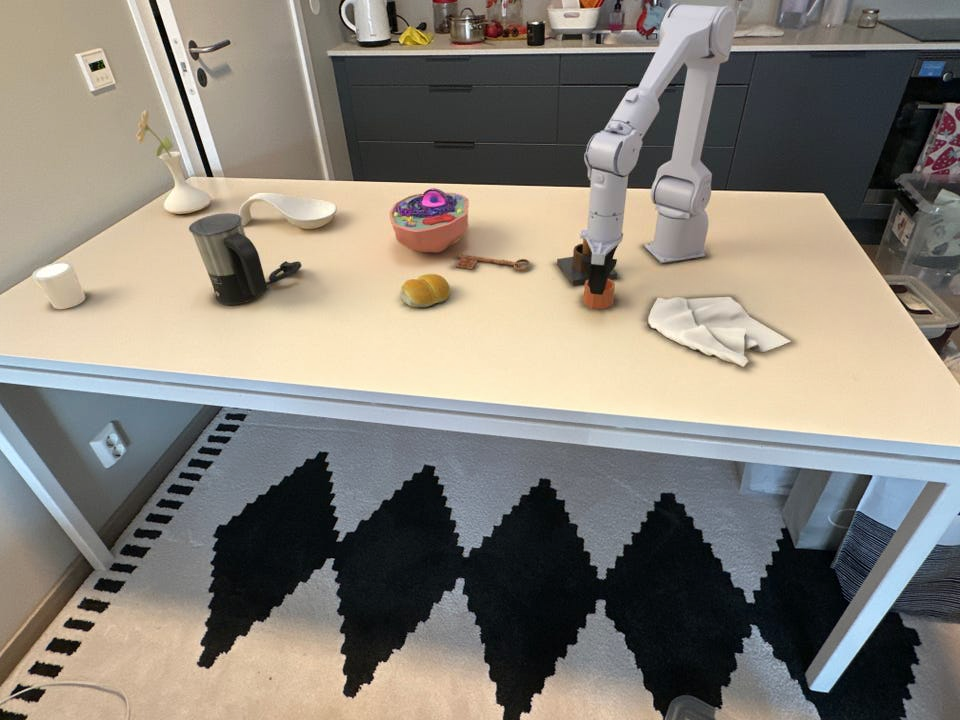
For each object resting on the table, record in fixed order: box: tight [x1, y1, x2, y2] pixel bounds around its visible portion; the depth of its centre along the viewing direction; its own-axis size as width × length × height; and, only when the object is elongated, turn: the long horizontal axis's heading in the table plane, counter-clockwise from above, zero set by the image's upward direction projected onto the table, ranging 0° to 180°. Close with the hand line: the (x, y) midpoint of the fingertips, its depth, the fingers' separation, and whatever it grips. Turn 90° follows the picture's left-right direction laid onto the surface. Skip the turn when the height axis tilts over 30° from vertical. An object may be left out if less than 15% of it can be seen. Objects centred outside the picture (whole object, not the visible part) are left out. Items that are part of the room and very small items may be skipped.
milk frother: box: [188, 212, 303, 306], centre depth 111 cm, size 14×16×15 cm
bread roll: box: [400, 273, 451, 308], centre depth 108 cm, size 8×9×4 cm
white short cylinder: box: [31, 261, 86, 310], centre depth 112 cm, size 7×7×7 cm
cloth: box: [647, 296, 791, 368], centre depth 96 cm, size 20×22×2 cm
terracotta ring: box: [582, 279, 616, 310], centre depth 104 cm, size 5×5×4 cm
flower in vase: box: [136, 109, 212, 215], centre depth 141 cm, size 13×11×25 cm
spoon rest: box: [238, 192, 338, 230], centre depth 137 cm, size 24×12×7 cm, turn 83°
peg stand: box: [556, 239, 618, 287], centre depth 112 cm, size 9×9×7 cm
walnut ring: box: [572, 243, 592, 272], centre depth 112 cm, size 5×5×4 cm
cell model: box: [388, 187, 470, 254], centre depth 123 cm, size 17×20×11 cm
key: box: [455, 254, 531, 272], centre depth 117 cm, size 6×1×15 cm
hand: (599, 282), depth 103 cm, fingers open, 7 cm apart
